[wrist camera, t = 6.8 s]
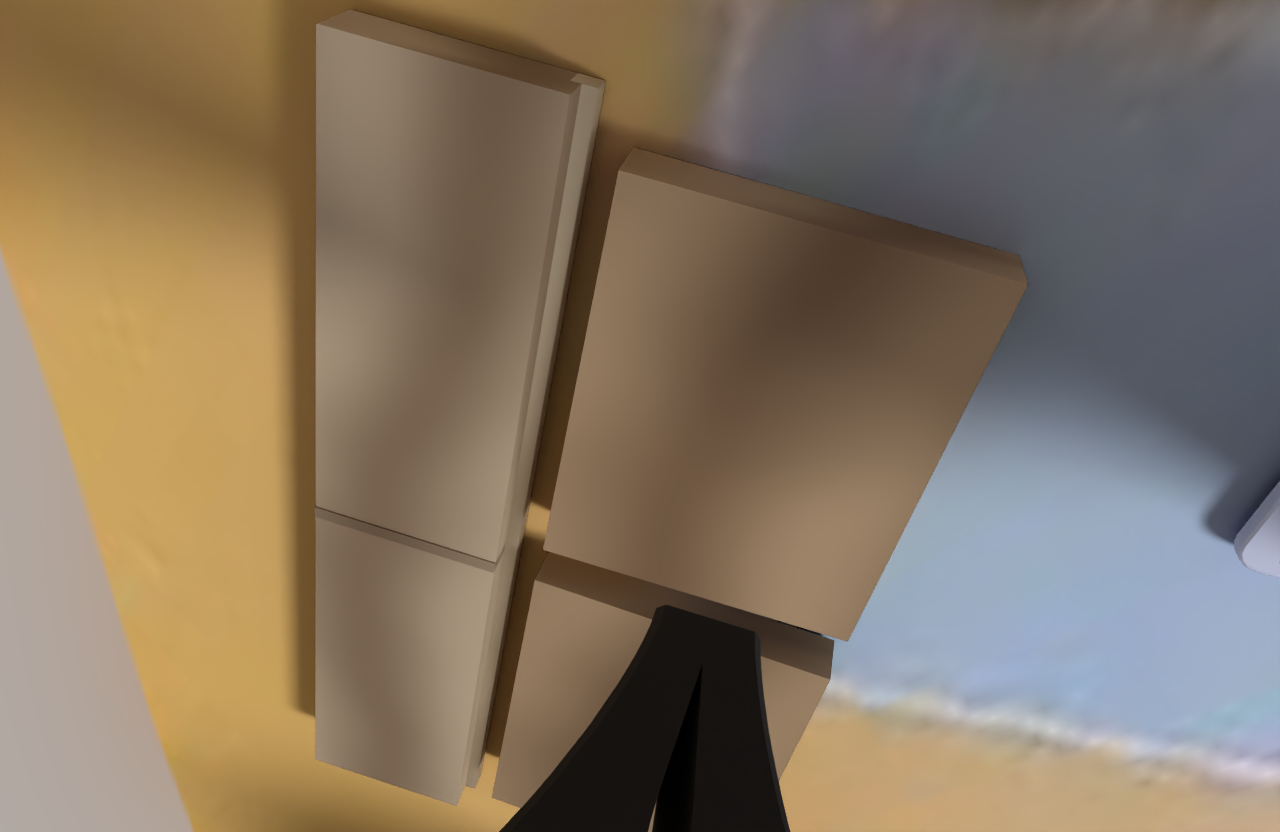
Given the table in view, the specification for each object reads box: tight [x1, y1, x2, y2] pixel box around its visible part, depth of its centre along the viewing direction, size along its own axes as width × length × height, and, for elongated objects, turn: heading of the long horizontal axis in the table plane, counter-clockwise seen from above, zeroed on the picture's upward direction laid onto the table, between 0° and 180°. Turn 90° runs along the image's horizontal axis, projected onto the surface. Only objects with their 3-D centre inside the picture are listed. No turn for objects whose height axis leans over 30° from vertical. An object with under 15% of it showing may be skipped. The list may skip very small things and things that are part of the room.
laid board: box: [315, 9, 606, 806], centre depth 22 cm, size 5×21×1 cm, turn 168°
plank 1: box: [543, 147, 1028, 641], centre depth 19 cm, size 7×9×1 cm
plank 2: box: [492, 552, 834, 832], centre depth 24 cm, size 7×9×1 cm
